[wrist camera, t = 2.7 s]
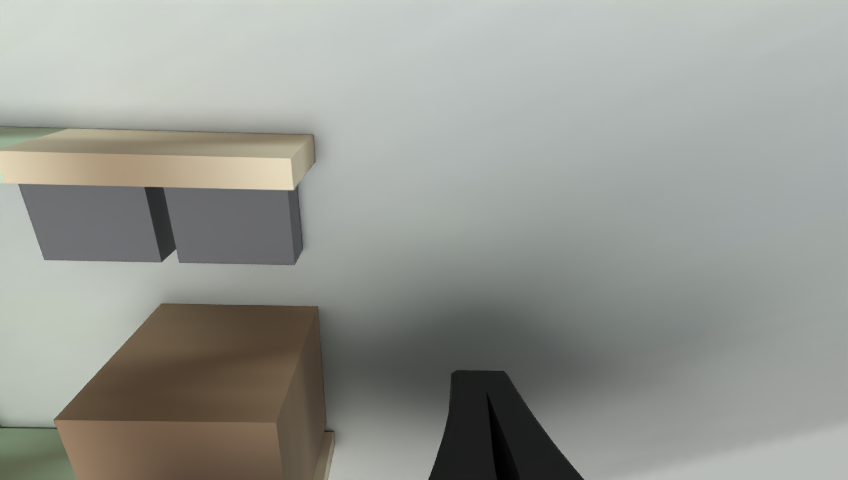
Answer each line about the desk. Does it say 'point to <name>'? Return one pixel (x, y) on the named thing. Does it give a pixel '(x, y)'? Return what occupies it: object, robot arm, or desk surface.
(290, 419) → the block
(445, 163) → the desk surface
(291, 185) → the green beige u-shaped frame
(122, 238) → the tiles
